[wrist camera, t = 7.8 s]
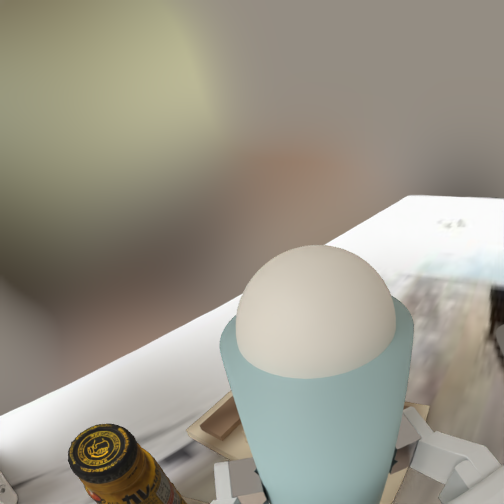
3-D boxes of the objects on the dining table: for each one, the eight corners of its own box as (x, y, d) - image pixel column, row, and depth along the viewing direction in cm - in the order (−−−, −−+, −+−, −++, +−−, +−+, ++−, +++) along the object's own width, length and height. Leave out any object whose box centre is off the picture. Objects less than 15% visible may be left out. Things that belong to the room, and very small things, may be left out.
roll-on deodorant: (266, 543, 11) (155, 282, 6) (311, 486, 14) (275, 221, 9) (343, 574, 8) (383, 321, 3) (383, 508, 11) (428, 222, 7)
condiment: (150, 486, 23) (92, 404, 20) (229, 508, 21) (185, 430, 17) (116, 537, 17) (36, 465, 13) (199, 572, 14) (128, 519, 10)
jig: (189, 436, 30) (180, 419, 29) (258, 372, 39) (254, 354, 39) (383, 518, 16) (389, 505, 15) (428, 413, 26) (432, 393, 25)
